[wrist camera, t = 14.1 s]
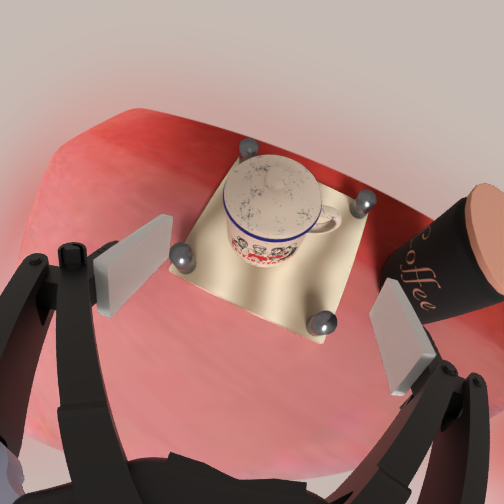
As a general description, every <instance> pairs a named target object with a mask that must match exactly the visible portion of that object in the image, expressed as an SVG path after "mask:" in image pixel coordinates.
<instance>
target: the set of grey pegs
mask: <svg viewBox="0 0 504 504" xmlns="http://www.w3.org/2000/svg"><path fill="white" fill-rule="evenodd" d="M258 147H259V144H258V142H257V141H256V140H254V139H252V138H246V139H243V140H242V141H241V142H240V144H239V164H241V163H242V162H244V161H246V160H248V159H250V158H253V157H256V156H258ZM376 202H377V199H376V196H375V194H374V193H373V192H372V191H370V190H367V189H364V190H362V191H360V193H359V194H358V196H357V197H356V199H355V200H354V201H353V203H352V204H351V206H350V213H351V215H352V216H353V217H354V218H356V219H363V218H364V217H365V216H366V215H367V214H368V212H369V211H370V210H371V209H372V208H373V206H374V205H375V204H376ZM169 258H170V260H171V261H172V263H173V264H174V266H175V267H176V269H177V270H178V271H179V272H180V273H182V274H190V273H192V272H193V271H194V270H195V268H196V264H197V263H196V259H195V257H194V254H193V252H192V250H191V248H190V246H189V245H188V244H186V243H182V242H180V243H176V244H174V245H173V246H172V247H171V249H170V251H169ZM336 327H337V318H336V316H335V315H334V314H333V313H332V312H331V311H328V310H324V311H321V312H319V313H317V314H315V315H313V316H311V317H310V318H309V319H308V320H307V322H306V330H307V332H308V333H309V334H310V335H312V336H315V337H317V336H322V335H327V334H330V333H332V332H333V331H334V330H335V329H336Z"/></svg>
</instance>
